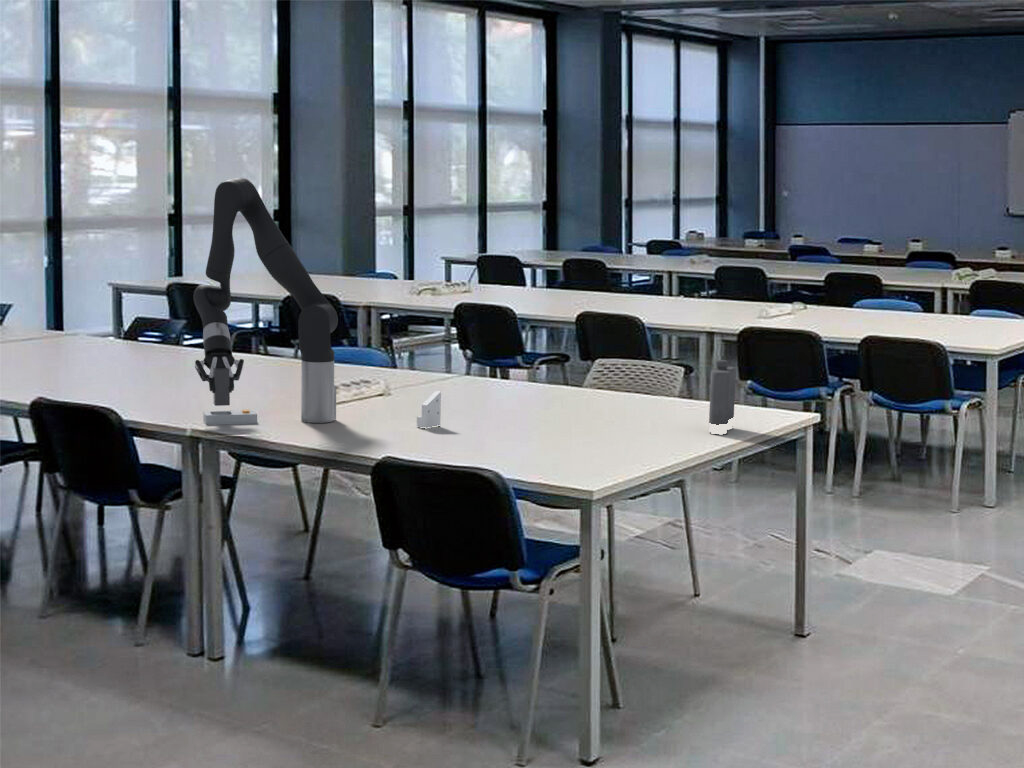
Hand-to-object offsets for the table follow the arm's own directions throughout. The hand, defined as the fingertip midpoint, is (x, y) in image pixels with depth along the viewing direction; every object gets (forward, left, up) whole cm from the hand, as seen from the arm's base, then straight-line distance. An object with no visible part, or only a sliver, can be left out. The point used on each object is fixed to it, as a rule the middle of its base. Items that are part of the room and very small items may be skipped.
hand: (222, 390), depth 418 cm
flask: (-83, +112, -10) cm, 139 cm away
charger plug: (-1, -2, -4) cm, 5 cm away
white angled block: (-34, +45, -10) cm, 58 cm away
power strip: (-3, 0, -9) cm, 10 cm away
